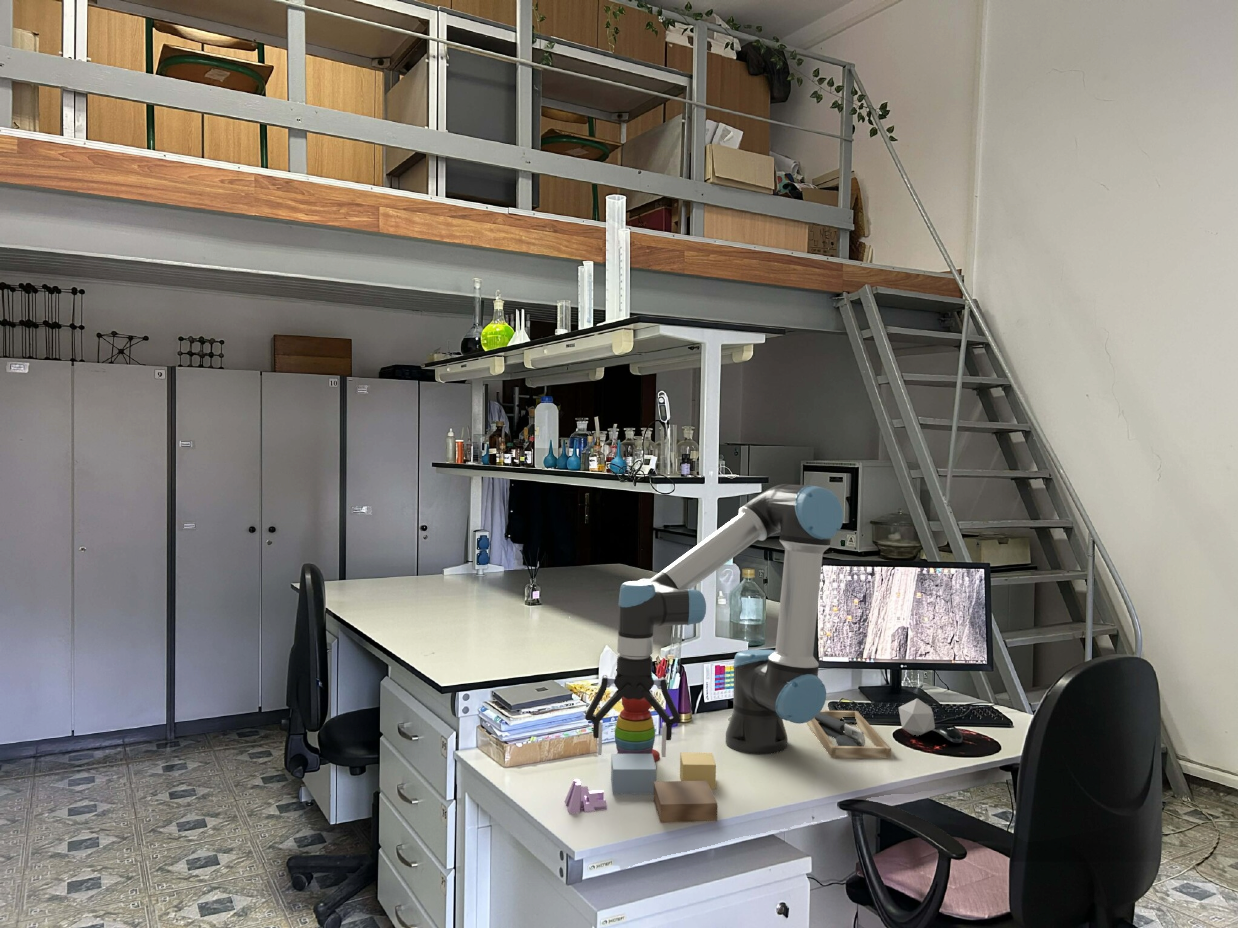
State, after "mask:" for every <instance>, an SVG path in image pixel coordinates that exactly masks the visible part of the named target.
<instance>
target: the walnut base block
mask: <svg viewBox="0 0 1238 928" xmlns="http://www.w3.org/2000/svg"><path fill="white" fill-rule="evenodd" d="M652 801H653V802H654V806H655V807H654V808H655V810H656V814H657V816H658V819H659V823H660V824H667V823H668V824H672V823H695V822H698V823H699V822H701V823H702V822H717V821H718V802H717V799H716V797H715V795H714V792H713V791H712V789H711V788H710V786H709V784H708V782H707V781H681V780H675V781H667V780H666V781H656V782H654V794H653V799H652Z"/></svg>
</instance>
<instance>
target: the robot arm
mask: <svg viewBox="0 0 1238 928" xmlns="http://www.w3.org/2000/svg"><path fill="white" fill-rule="evenodd" d="M737 514H738V515H736V516H735V517H733V518H731V519H730V521H727V522H726V523H725V524H724V525H722V526H721V527H720V528H717V530H716V531H714V532H713V533H711V534H710V535H709V536H707V537H705V539H704V540H702V541H700V542H699V543H698V544H697V545H695V546H693V548H691V549H690V550H688V551H687V552H686V553H684V554H682V556H680V557H678V558H677V559H676V560H675V561H673V562H671V564H669V565H668V566H667V567H664V569H663V570H661V571H660V572H659V573H657V574H655V575H654V576H653V577H651V578H649V577H648V578H641V579H639V580H632V581H631V580H629V581H625V582H623V583H622V584H621V585H620V588H619V595H618V596H619V598H618V602H617V603H618V628H617V629H618V633H617V649H616V650H617V654H618V655H617V656H616V659H617V660H616V675H615V677H611V676H608V675H607V674H604V675H602V677H601V684H600V686H599V688H598V690H597V692H596V693H595V696H594V697H593V700H592V701H591V703H590V705H589V707H587V710H586V712H585V716H584V718H585V720H586V721H590V722H592V724H593V729H592V732H593V734H592V737H593V738H594V739H597V741H598V742H597V755H598V756H602V755H603V754H602V753H603V751H602V750H603V725H604V723H603V722H604V721H603V718H604V717H605V716H606V715H607V714H608V713H610V711H611V710H612V709H613V707H614V706H616V704H617V703H618V702H619V701H620V700H622V697H624V698H626V699H637V700H641V699H642V698H644V697H645V699H646V700H647V701H648V702H649V703H650V704H651V706H652V707H651V708H653V709H654V711H655V712H656V713H657V715H658V716H659V717H660V718H661V720H662V721H663V722H662V723H661V725H662V726H661V727H662V728H661V757H662V758H666V751H667V741H671V740H672V736H673V735H672V730H673V729H672V728H673V725H674V724H679V723H681V717H680V714H679V711H678V709H677V707H676V705H675V703H674V701H673V698H672V697H671V694H670V692H669V690H668V687H667V680H666V677H664V676H661V677H660V678H653V673H652V672H653V657H652V656H651V655H653V653H654V651H653V650H654V649H653V648H654V647H653V646H654V628H655V627H663V626H664V627H665V626H666V627H667V626H669V627H670V626H684V625H686V626H690V625H696V624H700V623H702V622H703V620H704V619H705V617H706V615H707V613H706V612H707V601H706V598H705V596H704V594H703V592H701V591H700V590H698V589H694V587H696V586H697V585H698V584H700V583H701V582H702V581H704V580H705V579H706V578H708V577H709V576H710V575H712V574H714V573H715V572H716V571H717V570H718V569H720V568H722V567H723V566H724V565H726V563H728V562H729V561H731V560H732V559H733V558H735V557H736V556H737V555H738V554H740V553H741V552H743V551H744V550H746V549H747V548H748V547H750V546H751V545H752V544H753V543H755V542H757V541H765V540H766V539H767V538H769V537H770V536H773V535H774V534H777V533H779V542H780V544H782V546H783V548H784V558H783V567H782V568H783V570H782V579H781V588H780V589H781V591H780V601H779V610H778V612H779V613H778V620H777V621H778V622H777V629H776V630H777V631H776V642H775V649H774V650H773V649H747V650H742V651H738V652H737V653H736V654H735V655H734V658H733V659H734V661H733V666H732V667H733V702H732V703H733V707H732V708H733V709H732V714H731V717H730V720H729V722H728V726H727V727H726V731H725V744H726V745H727V747H729V748H731V749H732V750H736V751H737V752H741V753H746V754H752V755H770V754H771V753H772V754H777V752H778V753H781V752H784V751H785V750H787V748H788V745H789V743H788V742H789V741H788V734H787V731H786V727H785V725H784V724H785V723H784V721H786V722H787V721H788V722H790V723H793V724H806V722H808V721H810V720H812V719H814V717H815V716H816V715H818V714H819V713H820V711H821V710H823V708H824V706H825V704H826V703H825V702H826V700H827V689H826V686H825V684H824V683H823V681H822V679H821V678H819V676H818V675H819V666H820V664H819V661H817V659H816V658H815V657H814V648H815V637H816V629H817V628H816V626H817V617H818V606H819V598H820V597H819V596H820V595H819V594H820V586H821V585H820V584H821V574H822V564H823V554H824V553H825V551H826V550H828V549H829V548H830V547H831V542H832V538H833V537H834V536H836V535H837V533H838V531H840V530H841V528H842V526H843V522H844V508H843V506H842V503H841V501H840V499H839V498H838V497H837V495H836V494H835V493H834V492H833V491H831V490H829V488H825V487H822V486H817V485H804V484H791V483H782V484H777V485H775V486H772V487H770V488H768V489H766V490H765V491H763V492H761V493H760V494H758V495H757V496H754V498H753V499H751V500H750V501H748V502H747V503H745V504H744V505H743V506H741V507H740V508H738V513H737ZM612 685H614V686H615V687H616V689H617V690H616V691H615V692H614V694H613V695H612V696H611V697H610V698H609V700H607V701H606V702H605V703H604V705H602V707H601V708H600V709H599V710H598V711H597V712H596V710H597V708H598V706H599V704H600V702H601V701H602V698H603V697H604V695H605V693H606V692H607V688H611V686H612ZM654 686H656V687H657V689H658V690H660V691H661V693H662V697H663V698H664V701H665V703H666V705H667V707H668V709H669V711H670V714H671V716H670V715H669V714H668V713H667V712H666V710H665V709H664V707H663V706H662V705H661V704H660V702H659V701H658V700H657V699H656V697H655V696H654V695H653V693H652V692H651V689H652V688H653V687H654ZM595 712H596V713H595ZM783 720H784V721H783ZM780 751H781V752H780Z"/></svg>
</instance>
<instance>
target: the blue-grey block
mask: <svg viewBox="0 0 1238 928" xmlns="http://www.w3.org/2000/svg"><path fill="white" fill-rule="evenodd" d="M610 756H611V757H610V760H611V762H610V764H611V765H610V768H611V769H610V780H611V791H612V795H652V794H653V795H654V782H657V767H656V763H655V762H656V761H654V758H653V754H617V753H611V755H610Z"/></svg>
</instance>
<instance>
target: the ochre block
mask: <svg viewBox="0 0 1238 928" xmlns="http://www.w3.org/2000/svg"><path fill="white" fill-rule="evenodd" d="M679 754H680V756H679V757H680V758H679V760H680V761H679V764H680V765H679V770H680V771H679V778H680V781H707V782H708V784H709V786H710V788H711V790H715V789H716V788H717V787H716V786H717V785H716V782H717V780H716V778H717V775H716V773H717V771H716V770H717V765H716V761H715V758H714V755H713V752H683V751H682V752H680V753H679Z"/></svg>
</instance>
